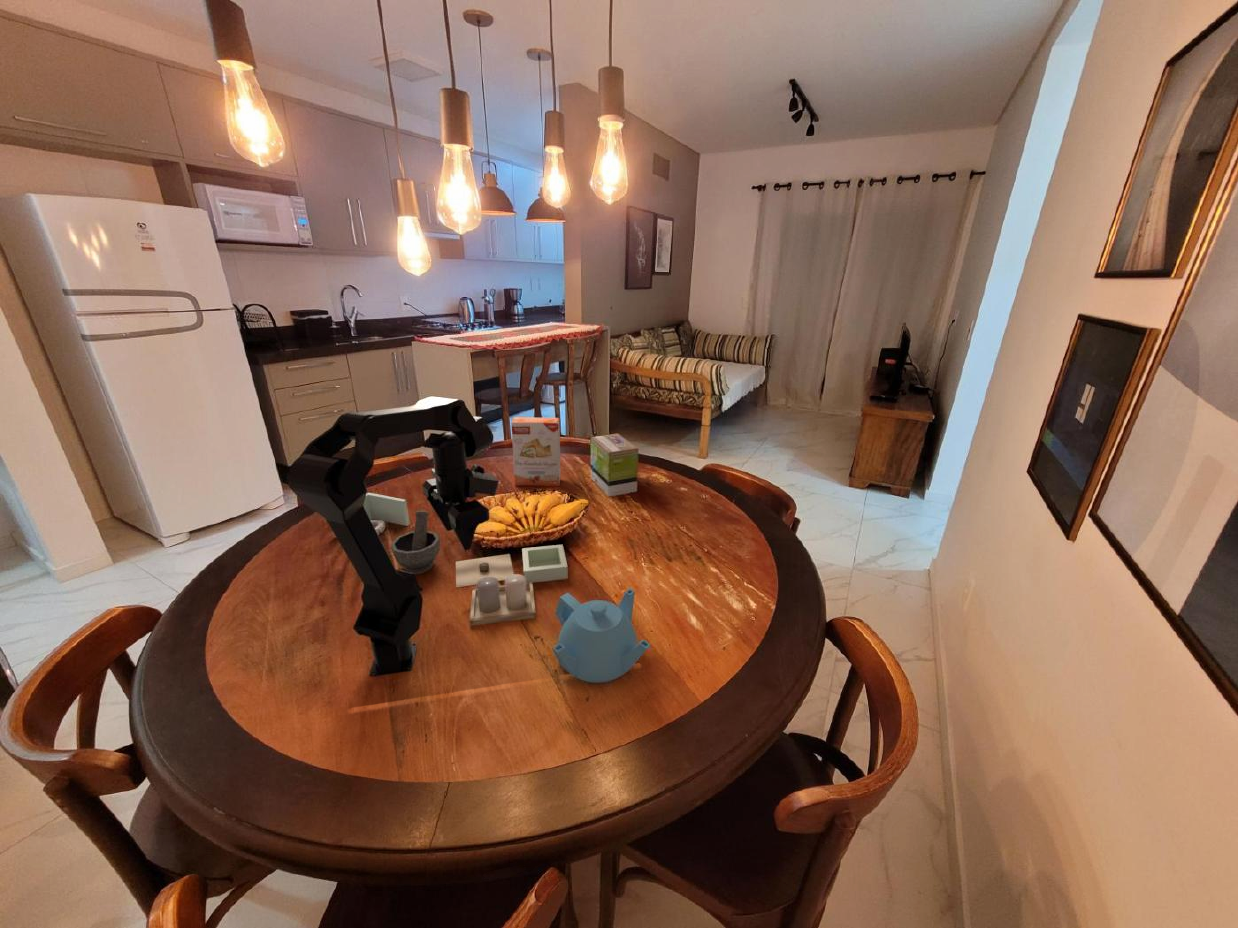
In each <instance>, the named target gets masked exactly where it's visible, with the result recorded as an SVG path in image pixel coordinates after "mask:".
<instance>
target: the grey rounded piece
mask: <svg viewBox="0 0 1238 928" xmlns="http://www.w3.org/2000/svg"><path fill="white" fill-rule="evenodd" d="M499 586H500V584H499V581H498V580H497V579H496V578H494V577H486V578H483V579H481V580H479V581H478V582H477V585H476V588H477V591H478V601H479V609H480V611H481V612H483V613H492V612H495V611H497V610H498V609H499V608H500V596H499Z"/></svg>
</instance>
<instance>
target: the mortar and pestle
mask: <svg viewBox="0 0 1238 928" xmlns="http://www.w3.org/2000/svg"><path fill="white" fill-rule="evenodd" d="M429 514H430V513H429V512H428V511H427V510H417V511H415V514H414V515H415V523H414V530H413V531H409V532H406V533H403V534H401V535H399V536H397V537H396V538H395V539H394V540H393V541H392V542H391V543H390V546H391V547H390V548H391V553H392V554H393V556H394V558H395V560H396V562H397V563H398V565H400V566H401V567H403V569H404V571H405V572H409V573H413V574H414V575H419V574H424V573H426V572H428V571H430V570H431V569H432V568H433V566H434V565H435V563H434V561H435V559H436V558H437V556H438V554H439V553H440V549H441V541H440V540H441V539H440V537H439V535H438V534H437V532H436V531H435V532H434V531H430V530H428V517H429V516H430V515H429Z"/></svg>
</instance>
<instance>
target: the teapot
mask: <svg viewBox="0 0 1238 928" xmlns="http://www.w3.org/2000/svg"><path fill="white" fill-rule="evenodd" d="M635 593H636V590H635V589H631V588H628V589H627V590H626V591H624V595H623V596H622V597H621V600H620V601H619V602H620V603H619V604H618V606H617V604H615V603H612V602H610V601H609V600H602V599H601V600H600V599H593V600H588V601H586V602H584V603H581V602H579V601H578V600H577V599H576V598H575V597H574V596H573V595H572V594H570V593H569V592H566V593H565V594H563V595H561V596H560V597H559V600H558V603H557V607H556V608H555V609H556V610H555V612H554V614H555V616H556V618H557V619H558V622H559V624H560V625H561V630H560V632H559V636H558V638H557V644H556V645H555V646H554V647H553V648H552V651H553V653H554V655H555V658H556V659H557V661H558V663H559V665H560V667H562V668H563V669H564V670H565V671H566V672H567V673H568V674H570V675H571V676H572V677H573V678H576V679H578V680H580V681H583V682H586V683H591V684H603V683H608V682H611V681H614V680H616V679H618V678H620V677H622V676H623V675H625V674H627V672H628V671H630V670H631V668H633V666H634V665H635V664H636V663H637V662H638V660H639V659H640V658H641V657H642V656H643V655H644V654H645V652H646V651H647V650H648V649H649V648H650V647H651V645H652V644H651V643H650V642H648V641H646V640H645V639H641V641H639V640H638V637H637V632H636V630H635V628H634V626H633V623H632V621H633V613H634V603H635ZM638 641H639V642H638Z"/></svg>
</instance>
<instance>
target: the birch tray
mask: <svg viewBox="0 0 1238 928" xmlns="http://www.w3.org/2000/svg"><path fill="white" fill-rule="evenodd" d="M471 591H472V592H471V593H472V594H471V602H470V605H471V606H470V615H469V625H470V627H472V626H479V625H480V626H481V625H482V626H483V625H489V624H495V623H496V624H497V623H503V622H504V623H505V622H511V621H520V620H528V619H536V617H537V616H536V605H535V604H536V603H535V595H534V586H533V583H532V582H528V583H526V594H527V604H526V606H525V607H523V608H521V609H518V610H512V609H509V608H508V607H507V605H506V592H505V584H503V585H502V584H501V585H499V596H500V608H499V609H498V610H497V611H495V612H492V613H483V612H481V611H480V609H479V601H478V591H477V587H475V588H472V590H471Z"/></svg>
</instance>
